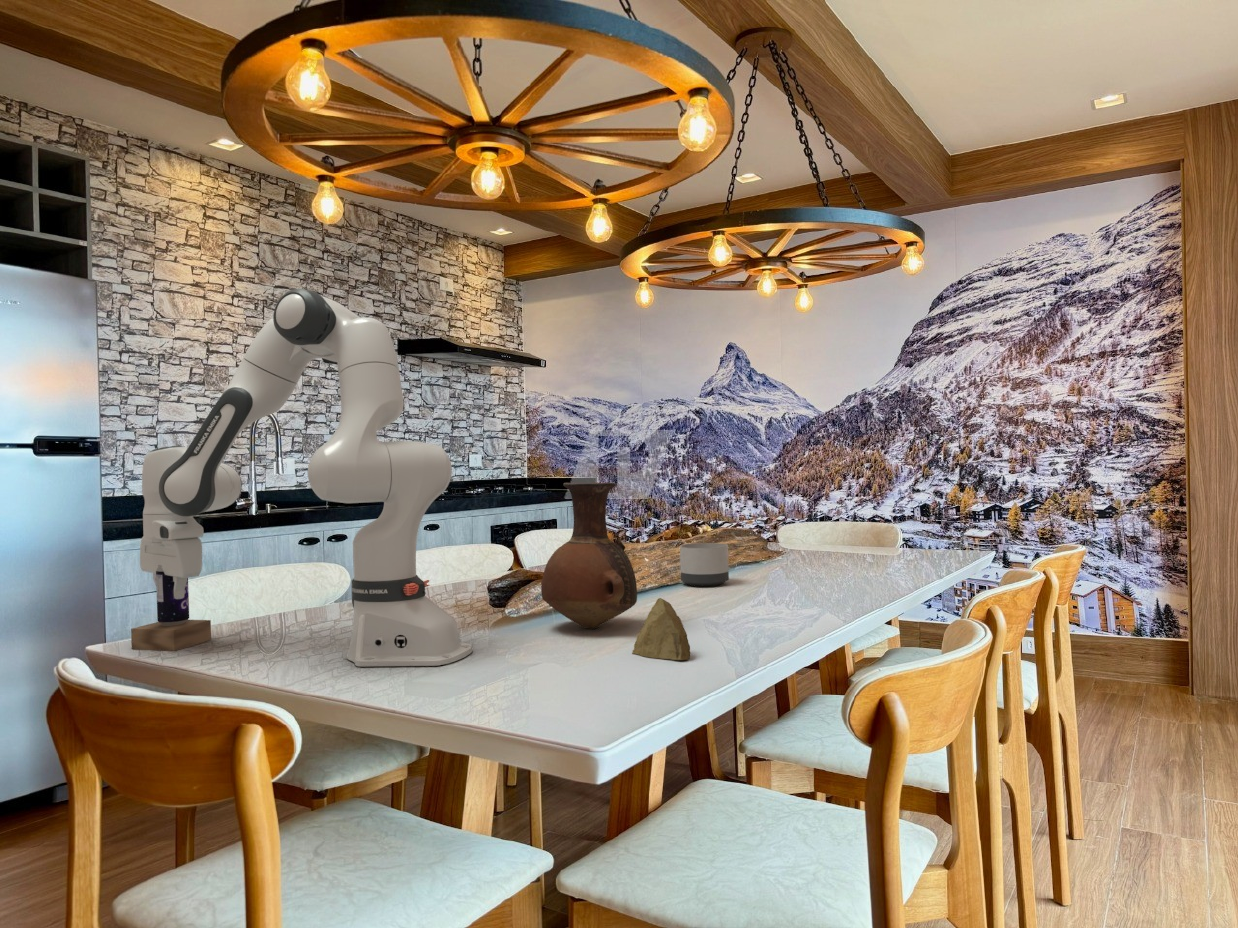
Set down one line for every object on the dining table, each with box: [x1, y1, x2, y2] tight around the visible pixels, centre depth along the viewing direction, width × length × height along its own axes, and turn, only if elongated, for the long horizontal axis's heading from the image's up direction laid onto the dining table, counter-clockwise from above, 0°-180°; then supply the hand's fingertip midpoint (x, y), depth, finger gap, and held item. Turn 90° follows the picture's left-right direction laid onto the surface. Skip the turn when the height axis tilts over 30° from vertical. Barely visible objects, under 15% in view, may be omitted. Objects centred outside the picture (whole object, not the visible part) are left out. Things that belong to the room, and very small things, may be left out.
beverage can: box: [155, 565, 190, 626], centre depth 174 cm, size 6×6×12 cm
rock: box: [631, 597, 691, 661], centre depth 152 cm, size 11×9×10 cm
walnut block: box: [130, 619, 212, 652], centre depth 174 cm, size 10×10×4 cm
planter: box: [679, 542, 730, 588], centre depth 234 cm, size 13×13×10 cm
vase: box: [540, 482, 638, 630], centre depth 180 cm, size 25×20×30 cm
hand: (170, 596), depth 174 cm, fingers closed on beverage can, 6 cm apart
